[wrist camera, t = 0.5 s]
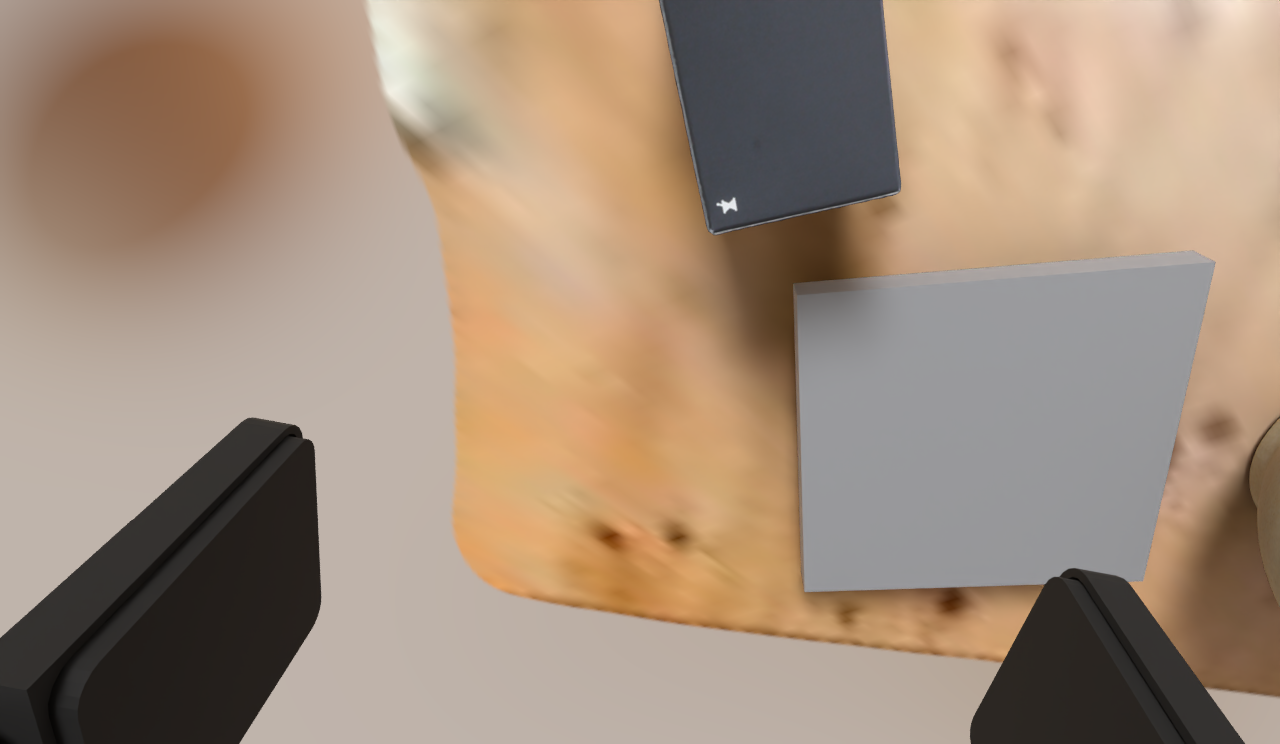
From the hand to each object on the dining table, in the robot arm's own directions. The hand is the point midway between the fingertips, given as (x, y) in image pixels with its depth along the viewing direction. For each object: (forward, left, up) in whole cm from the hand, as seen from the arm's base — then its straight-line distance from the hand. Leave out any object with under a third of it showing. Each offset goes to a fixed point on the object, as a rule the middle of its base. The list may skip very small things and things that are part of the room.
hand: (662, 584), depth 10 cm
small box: (-3, -5, -26) cm, 27 cm away
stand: (-12, +13, -26) cm, 31 cm away
